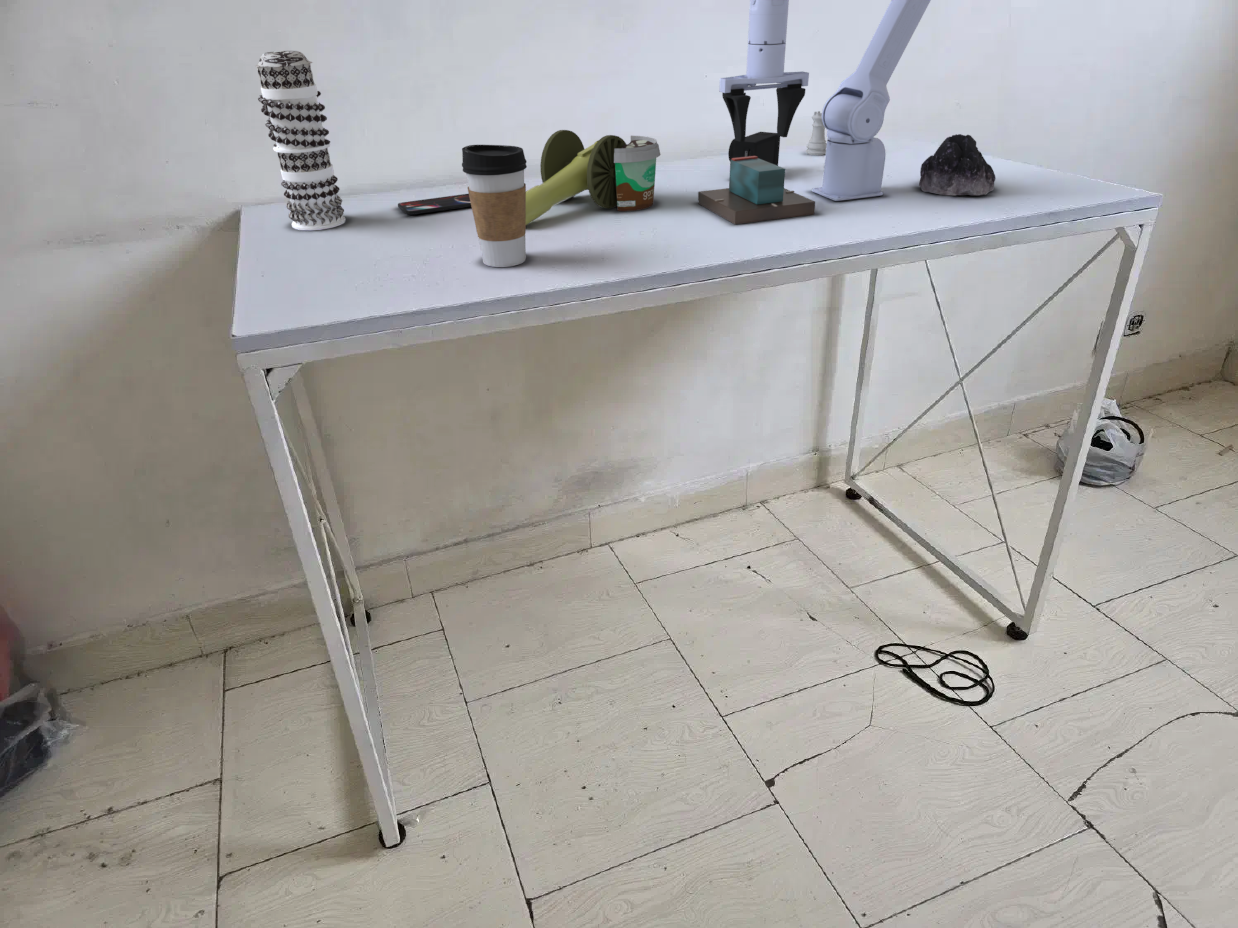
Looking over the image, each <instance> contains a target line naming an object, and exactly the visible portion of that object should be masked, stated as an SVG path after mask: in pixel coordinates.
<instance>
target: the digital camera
mask: <svg viewBox="0 0 1238 928" xmlns="http://www.w3.org/2000/svg"><path fill="white" fill-rule="evenodd" d="M780 145H781V136H778V135H777V132H769V131H767V132H766V131H758V132H755V133H753V134H749V135H745V141H744V142H739V141H736V140H735V138H733V139H731V141H730V143H729V148H728V152H727V153H728V155H727V156H728V160H729V162H730V160H732V158H739V157H748V156H757V157H758V158H759V159H761V160H764V161H767V162H769V163H772V164H774V165H777V166H779V160H780V159H779V158H780Z"/></svg>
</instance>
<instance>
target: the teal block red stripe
mask: <svg viewBox="0 0 1238 928" xmlns="http://www.w3.org/2000/svg"><path fill="white" fill-rule="evenodd" d="M785 180H786V168H784V167H782V166H779V165H778V166H777V165H774V164H772V163H769V162H767V161H764V160H761V159H759V158H758V157H757V156H748V157H739V158H732V160H730V161H729V180H728V181H729V182H728V188H729V191H730V192H732V193H734V194H736V195H738V196H740V197H743V198H745V199H747V200H749V201H751V202H753V203H755V204H757V205H759V204H767V203H775V202H783V194H784V188H785Z"/></svg>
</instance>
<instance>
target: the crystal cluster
mask: <svg viewBox="0 0 1238 928" xmlns="http://www.w3.org/2000/svg"><path fill="white" fill-rule="evenodd" d="M919 175H920V177H919V181H918V186H919V187H920V190H921V191H922V192H924V193H930V194H936V195H942V196H954V197H955V196H986V195H987V194H988V193H990V192H992V191H994V189H995V181H996V179H997V178H996V174H995V171H994V169H993V167H992V165H990V164H989V163H988V162H987V161H986V159H985V157H984V156H983V154H982V152H981V151H980V150H979V147H977V141H976V140H975V139H974V137H973V136H972V135H971V134H966V135H965V134H962V133H958V134H952V135H951V136H947V137H946V138H945V139H944V140H943V141H942V143H941V144H939V147H937V149H936V150H935V152H934V153H933V154H932V155H929V156H928V157H927V158H926V159H925V160H924V161H923V162H922V163H921V166H920V171H919Z"/></svg>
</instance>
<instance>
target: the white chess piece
mask: <svg viewBox="0 0 1238 928" xmlns="http://www.w3.org/2000/svg"><path fill="white" fill-rule="evenodd" d="M811 119H812V120H813V123H812V124H811V126H812V132H811V135H810V139H809V141H808V143H807V144H806V148H807V149H806V150H805V153H806V154H807V155H809V156H823V155H825V156H826V146H827V139H826V132H825V131H826V128H825V127H824V125H823V123H822V112H821V111H820V110H818V111H813V115H812V116H811Z"/></svg>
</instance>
